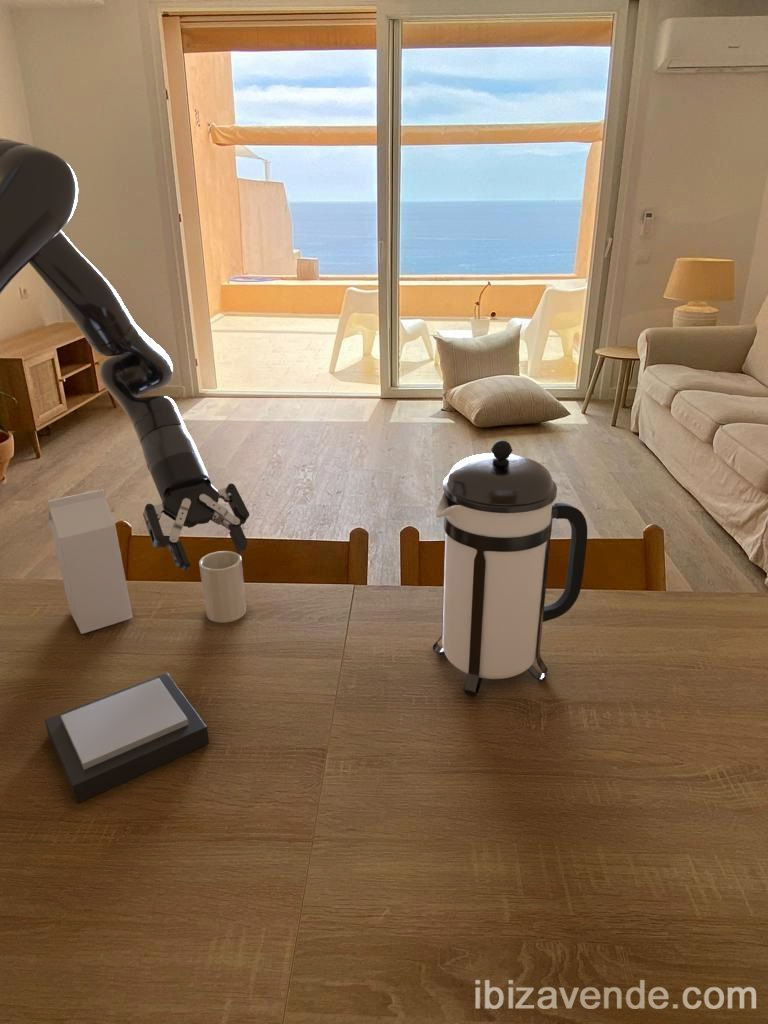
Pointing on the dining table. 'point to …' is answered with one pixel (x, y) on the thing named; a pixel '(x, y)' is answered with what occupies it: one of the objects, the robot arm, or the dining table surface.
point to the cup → (223, 586)
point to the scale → (124, 735)
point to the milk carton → (90, 560)
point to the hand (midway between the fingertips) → (215, 559)
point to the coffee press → (501, 564)
